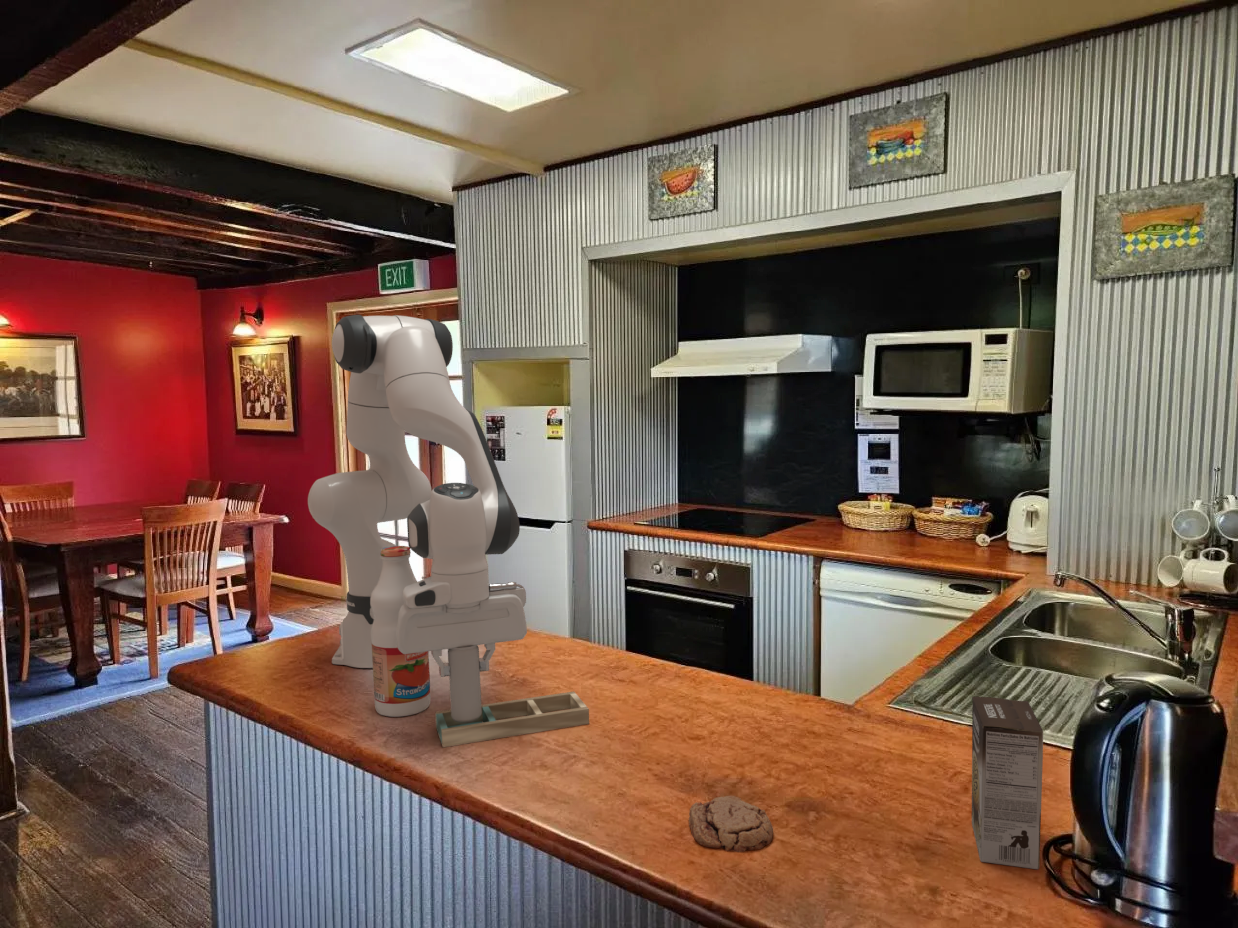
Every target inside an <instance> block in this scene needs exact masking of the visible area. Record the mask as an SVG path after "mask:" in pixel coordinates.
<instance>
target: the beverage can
mask: <svg viewBox="0 0 1238 928" xmlns="http://www.w3.org/2000/svg"><path fill="white" fill-rule="evenodd" d="M479 649H480V647H479V645H474V646H467V647H459V648H451V649H447V661H448V664H449V665H450V676H448V678H449V693H450V697H449V698H450V710H451V717H452V718H453V720H454V721H455V722H458V723H468V722H473V721H475V720H477V719H479V718H480V716H481V714H482V708H481V705H482V692H481V691H482V689H481V672H480V665H479V658H480V653H479V652H480V650H479Z"/></svg>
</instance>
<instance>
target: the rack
mask: <svg viewBox="0 0 1238 928" xmlns="http://www.w3.org/2000/svg"><path fill="white" fill-rule="evenodd" d="M481 708H482V714H481V716H480V718H479V719H477V720H475V721H473V722H468V723H458V722H455V721H454V720H453V718H452V717H451V709H445V710H440V711H435V714H434V718H435V728H436V731H437V735H438V737H439V740H440V743H441V746H442V748H447V747H453V746H459V745H465V744H471V743H472V744H473V743H479V742H483V741H485V742H486V741H491V740H497V739H501V738H502V739H503V738H508V737H515V736H516V737H517V736H521V735H527V734H533V733H540V732H541V733H542V732H546V731H552V730H558V729H565V728H573V727H579V726H583V725H589V724H590V708H588V706H587V705H586V704H585V702H584V701H583V700H582V699H581V698H580V696H579V695H578V694H577V693H576V691H568V692H560V693H554V694H547V695H541V696H535V697H533V696H532V697H527V698H520V699H513V700H507V701H500V702H493V703H486V704H481Z"/></svg>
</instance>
